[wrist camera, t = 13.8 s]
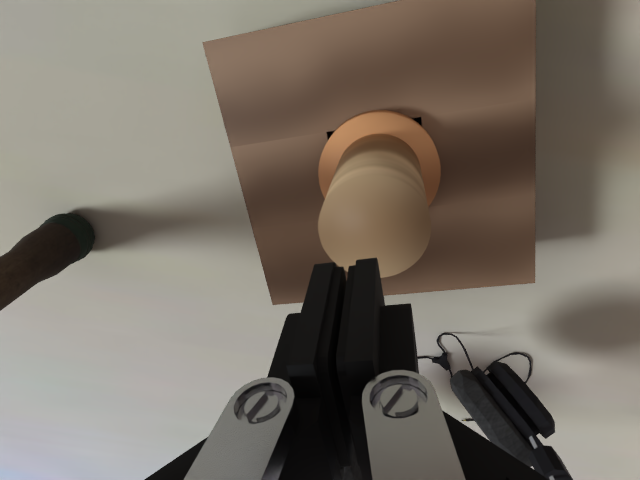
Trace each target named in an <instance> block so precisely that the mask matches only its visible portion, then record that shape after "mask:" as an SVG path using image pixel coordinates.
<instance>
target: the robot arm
mask: <svg viewBox="0 0 640 480" xmlns="http://www.w3.org/2000/svg"><path fill="white" fill-rule="evenodd" d="M354 450H355V455H356V459H357V464H358V466H359V467H360V470H361V474H362V479H363V480H548V479H547V478H546V477H544V476H543V475H541V474H540V473H538V472H537V471H535V470H534V469H532V468H530V467H529V466H527V465H526V464H524V463H523V462H521V461H520V460H518V459H517V458H515V457H513V456H512V455H510V454H509V453H507V452H506V451H504V450H503V449H501V448H500V447H498V446H496V445H495V444H493V443H492V442H490V441H489V440H487V439H486V438H484V437H483V436H481V435H479V434H478V433H476V432H475V431H473V430H472V429H470V428H469V427H467V426H466V425H464V424H462V423H461V422H459V421H458V420H456V419H455V418H453V417H452V416H450V415H449V414H447V413H445V412H444V411H442V409H441V406H440V403H439V400H438V397H437V394H436V391H435V389H434V387H433V385H432V384H431V382H430V381H429V380H427V379H426V378H425V377H424V376H422V375H420V374H419V370H418V359H417V349H416V340H415V332H414V324H413V316H412V308H411V304H399V305H387V306H385V303H384V296H383V290H382V284H381V277H380V271H379V264H378V259H377V258H368V259H359V260H356V265H353V266H349V268H348V275H347V280H346V275H345V270H344V267H337V266H336V263H335V262H330V263H321V264H314V267H313V270H312V274H311V277H310V281H309V285H308V288H307V292H306V296H305V299H304V303H303V306H302V310H301V313H293V314H289V315H288V316H287V318H286V320H285V323H284V327H283V330H282V333H281V336H280V339H279V342H278V345H277V348H276V352H275V355H274V358H273V361H272V364H271V367H270V370H269V374H268V377H267V378H261V379H258V380H254V381H252V382H250V383H248V384H246V385H244V386H243V387H241V388H240V389H239V390H238V391H236V392H235V394H234V395H233V396H232V397H231V399H230V400H229V402H228V404H227V405H226V407H225V409H224V411H223V412H222V414H221V416H220V417H219V419H218V421H217V423H216V424H215V426H214V428H213V430H212V431H211V433H210V435H209V437H207V438H206V439H204V440H203V441H201V442H200V443H198V444H197V445H195V446H194V447H192V448H191V449H189V450H188V451H186V452H185V453H183V454H182V455H180V456H179V457H177V458H176V459H174V460H173V461H171V462H170V463H168V464H167V465H166V466H164V467H163V468H161V469H160V470H158V471H157V472H155V473H154V474H152V475H151V476H149V477H148V478H146V479H145V480H343V477H344V467H352V464H353V452H354Z"/></svg>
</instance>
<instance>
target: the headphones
mask: <svg viewBox="0 0 640 480" xmlns="http://www.w3.org/2000/svg"><path fill="white" fill-rule="evenodd" d="M442 335H452V336H454V337H456V338H457V340H458V341H459V343H460V344H461V345H462V347H463V349H464V352H465V354H466V356H467V358H468V361H469V363H470V365H471V368H472V371H471V372H470V371H468V370H460V371H458V372H457V373H456V374H455V375H454V376H452V372H451V370H450V369H451V368H450V365H449V363H448V361H447V352H446V353H445V351H444V349H443V348H442V347H441V346H440V344H439V338H440V336H442ZM437 344H438V346H439V347H440V348H441V349H442V351H443V352H444V353H442V356H440V357H434V358H430V357H427V356H424V357H417V359H420V358H429V359H432V362H433V363H437V364H440V365H441V366H442V367H443V368H444V369H445V370H446V371H447V370H449V371H450V374H451V379H450V382H451V388H452V391H453V392H454V393H455V395H456V396H457V398H458V399H459V401H460V402H461V403H462V405H463V406H464V407H465V409H466V410H467V411H468V413H469V414H470V415H471V417H472V418H473V419H466V420H462V421H475V422H476V423H477V424H478V426H479V427H480V428H481V430H482V431H483V432H484V434H485V435H486V436H487V438H488V439H489V440H490V441H491V442H492V443H493V444H495V445H496V446H498V447H500V448H501V449H503V450H504V451H506V452H507V453H509V454H510V455H512V456H513V457H515V458H517V459H518V460H520V461H521V462H523V463H524V464H526V465H527V466H529V467H531V466H533V467H534V469H535V471H537V472H538V473H540V474H541V475H543V476H544V477H546V478H547V479H548V480H573V479H572V477H571V475H570V474H569V472H568V470H567V469H566V467H565V465H564V464H563V462H562V460H561V459H560V457H559V456H558V455H557V453H556V452H555V451H554V449H553V448H552V447H551V446H544V445H543V444H542V443H541V442H540V440H539V439H538V438H537V436H536V435H537V434H539V433H540V434H541V435H542V436H543V437H544V438H545V439H546V438H548V437H549V436H550V435H552V434H553V433H554V432H555V423H554V420H553V418H552V416H551V414H550V413H549V412H548V411H547V409H546V408H545V407H544V405H543V404H542V403H541V402H540V400H539V399H538V398H537V397H536V395H535V394H534V393H533V392H532V391H531V390H530V389H529V387H528V386H527V385H526V382H527V380H528V379H529V377H530V375H531V360H530V358H529V357H528V356H527V355H525V354H523V353H511V354H509V355H506V356H504V357H502V358H505V357H507V356H510V355H516V354H521V355H523V356H525V357H527V358H528V360H529V362H530V370H529V375H528V378H527V380H526V381H525V382H523V381H522V379H521V378H520V377H519V376H518V375H517V374H516V373H515V372H514V371H513V370H512V369H511V368H510V367H509V366H508V365H507V364H505V363H501V362H497V361H499V360H501V359H502V358H500V359H498V360H496V361H494V362H493V363H492V364H491V365H489V366H488V367H487V369H488V371H489V372H490V373H488V374H487V375H485V374H484V372H485V371H486V370H487V369H486V370H484V371H482V370H481V369H480V368H479V367H476V368H475V369H473V366H472V364H471V361H470V359H469V356H468V354H467V351H466V349H465V348H464V346H463V344H462V343H461V341H460V340H459V339H458V337H457V336H455V335H453V334H450V333H443V334H441V335H439V336H438V339H437ZM343 480H363V479H362V474H361V470H360V467H359V466H358V464H357V459H356V455H355V450H354V452H353V464H352V467H344V477H343Z"/></svg>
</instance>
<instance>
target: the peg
mask: <svg viewBox="0 0 640 480" xmlns="http://www.w3.org/2000/svg"><path fill="white" fill-rule="evenodd" d="M440 176H441V166H440V159H439V156H438V153H437V150H436V147H435V144H434V142H433V140H432V138H431V137H430V135H429V134H428V132H427V131H426V130H425V129H424V128H423V127H422V126H421V125H420V124H419V123H418V122H416V121H415V120H413V119H412V118H410V117H408V116H406V115H404V114H401V113H398V112H395V111H389V110H373V111H367V112H363V113H360V114H358V115H355V116H353V117H351V118H349V119H348V120H346V121H345V122H344V123H342V124H341V125H340V126H339V127H338V128H337V129H336V130H335V131H334V132H333V134H332V135H331V136H330V138H329V140H328V141H327V143H326V145H325V147H324V149H323V152H322V154H321V158H320V161H319V168H318V177H319V184H320V188H321V191H322V194H323V196H324V198H325V200H324V203H323V206H322V209H321V212H320V215H319V221H318V232H319V237H320V241H321V244H322V246H323V248H324V250H325V251H326V253H327V255H328V256H329V257H330V258H331V259H332V260H333V261H334V262H335V263H336V264H337V265H338V266H339V267H344V270H346V271H347V272H348V268H349V266H353V265H356V260H359V259H368V258H377V259H378V264H379V271H380V277H381V278H384V277H389V276H393V275H396V274H399V273H401V272H403V271H405V270H407V269H408V268H409V267H411V266H412V265H413V264H415V263H416V262H417V261H418V260H419V258H420V257H421V256H422V255H423V253H424V251H425V250H426V248H427V245H428V243H429V239H430V235H431V220H430V214H429V209H428V207H429V205H430V204H431V202H432V201H433V199H434V197H435V195H436V193H437V190H438V187H439V183H440Z"/></svg>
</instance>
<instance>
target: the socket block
mask: <svg viewBox="0 0 640 480" xmlns="http://www.w3.org/2000/svg"><path fill="white" fill-rule="evenodd" d="M202 43H203V46H204V50H205V54H206V57H207V61H208V65H209V69H210V72H211V76H212V80H213V84H214V87H215V91H216V95H217V99H218V102H219V106H220V110H221V113H222V117H223V121H224V125H225V128H226V132H227V136H228V140H229V143H230V147H231V151H232V154H233V158H234V162H235V166H236V169H237V173H238V177H239V181H240V184H241V188H242V192H243V195H244V199H245V203H246V207H247V210H248V214H249V218H250V222H251V225H252V229H253V233H254V237H255V240H256V244H257V248H258V251H259V255H260V259H261V263H262V266H263V270H264V274H265V278H266V281H267V285H268V289H269V292H270V296H271V300H272V304H273V305H277V304H289V303H301V302H304V299H305V296H306V292H307V288H308V285H309V281H310V277H311V274H312V270H313V267H314V264H321V263H330V262H334V261H333V260H332V259H331V258H330V257H329V256H328V255H327V253H326V251H325V250H324V248H323V246H322V244H321V241H320V237H319V232H318V221H319V215H320V212H321V209H322V206H323V203H324V200H325V198H324V196H323V194H322V191H321V188H320V184H319V177H318V168H319V161H320V158H321V154H322V152H323V149H324V147H325V145H326V143H327V141H328V140H329V138H330V136H331V135H332V134H333V132H334V131H335V130H336V129H337V128H338V127H339V126H340V125H341V124H342V123H344V122H345V121H346V120H348V119H349V118H351V117H353V116H355V115H358V114H360V113H363V112H367V111H373V110H389V111H395V112H398V113H401V114H404V115H406V116H408V117H410V118H416V117H418V120H419V124H420V125H421V126H422V127H423V128H424V129H425V130H426V131H427V132H428V134H429V135H430V137H431V138H432V140H433V142H434V144H435V147H436V150H437V153H438V156H439V159H440V166H441V176H440V183H439V187H438V190H437V193H436V195H435V197H434V199H433V201H432V202H431V204H430V205H429V207H428V209H429V214H430V220H431V235H430V239H429V243H428V245H427V248H426V250H425V251H424V253H423V255H422V256H421V257H420V258H419V260H418V261H417V262H416V263H415V264H413V265H412V266H411V267H409V268H408V269H407V270H405V271H403V272H401V273H399V274H396V275H393V276H389V277H384V278H381V284H382V290H383V296H384V295H396V294H408V293H420V292H432V291H444V290H455V289H467V288H479V287H491V286H503V285H515V284H527V283H535V110H536V0H399V1H395V2H390V3H385V4H381V5H376V6H371V7H367V8H362V9H357V10H352V11H348V12H343V13H338V14H334V15H329V16H324V17H320V18H315V19H310V20H305V21H301V22H296V23H291V24H287V25H282V26H277V27H273V28H268V29H263V30H259V31H254V32H249V33H244V34H240V35H235V36H230V37H226V38H221V39H216V40H212V41H207V42H202ZM336 266H337V267H339V266H338V265H337V264H336ZM345 275H346V280H347V275H348V272H347V271H346V270H345Z"/></svg>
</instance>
